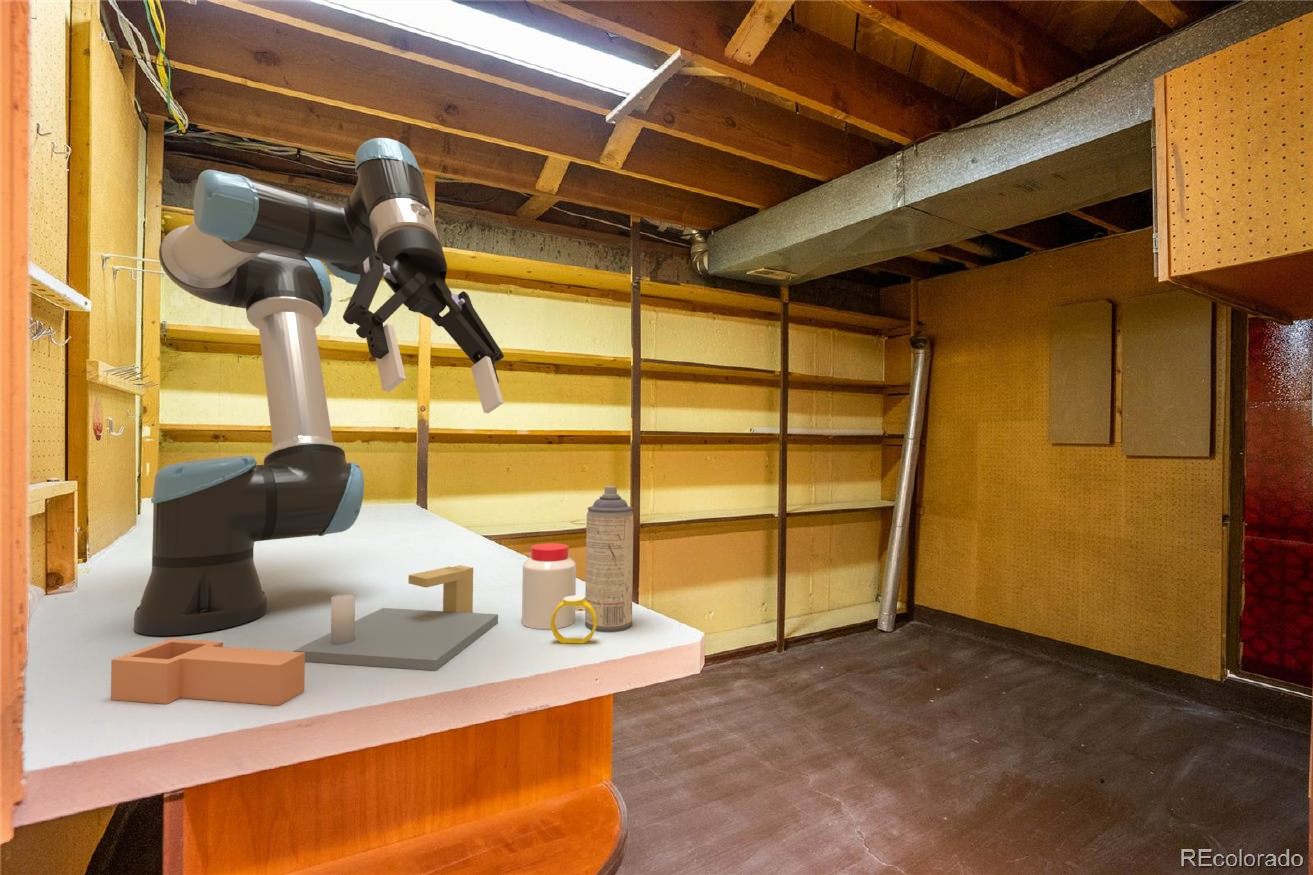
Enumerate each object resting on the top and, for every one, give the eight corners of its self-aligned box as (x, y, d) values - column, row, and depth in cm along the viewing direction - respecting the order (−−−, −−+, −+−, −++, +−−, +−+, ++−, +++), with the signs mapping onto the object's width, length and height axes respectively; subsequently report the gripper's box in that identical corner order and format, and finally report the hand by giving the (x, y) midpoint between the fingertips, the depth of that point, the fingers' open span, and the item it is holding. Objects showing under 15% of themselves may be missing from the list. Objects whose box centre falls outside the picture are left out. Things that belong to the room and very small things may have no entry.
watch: (550, 648, 76) (547, 602, 76) (554, 640, 79) (551, 596, 79) (596, 645, 76) (594, 599, 76) (598, 637, 79) (596, 593, 79)
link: (110, 699, 59) (111, 659, 59) (171, 674, 65) (171, 638, 65) (267, 712, 57) (267, 671, 57) (314, 685, 63) (314, 647, 63)
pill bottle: (564, 631, 82) (565, 552, 82) (512, 627, 83) (514, 549, 83) (582, 615, 89) (583, 543, 89) (534, 611, 91) (535, 540, 91)
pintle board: (293, 660, 70) (294, 600, 70) (397, 608, 91) (398, 562, 91) (435, 670, 67) (436, 607, 67) (508, 614, 89) (508, 567, 89)
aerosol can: (641, 624, 85) (643, 487, 85) (606, 635, 80) (608, 489, 80) (610, 614, 90) (612, 484, 90) (575, 624, 85) (577, 486, 85)
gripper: (327, 176, 59) (364, 351, 52) (503, 268, 81) (547, 401, 74) (286, 221, 62) (316, 392, 55) (467, 298, 84) (505, 428, 77)
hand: (448, 397), depth 65 cm, fingers open, 13 cm apart
